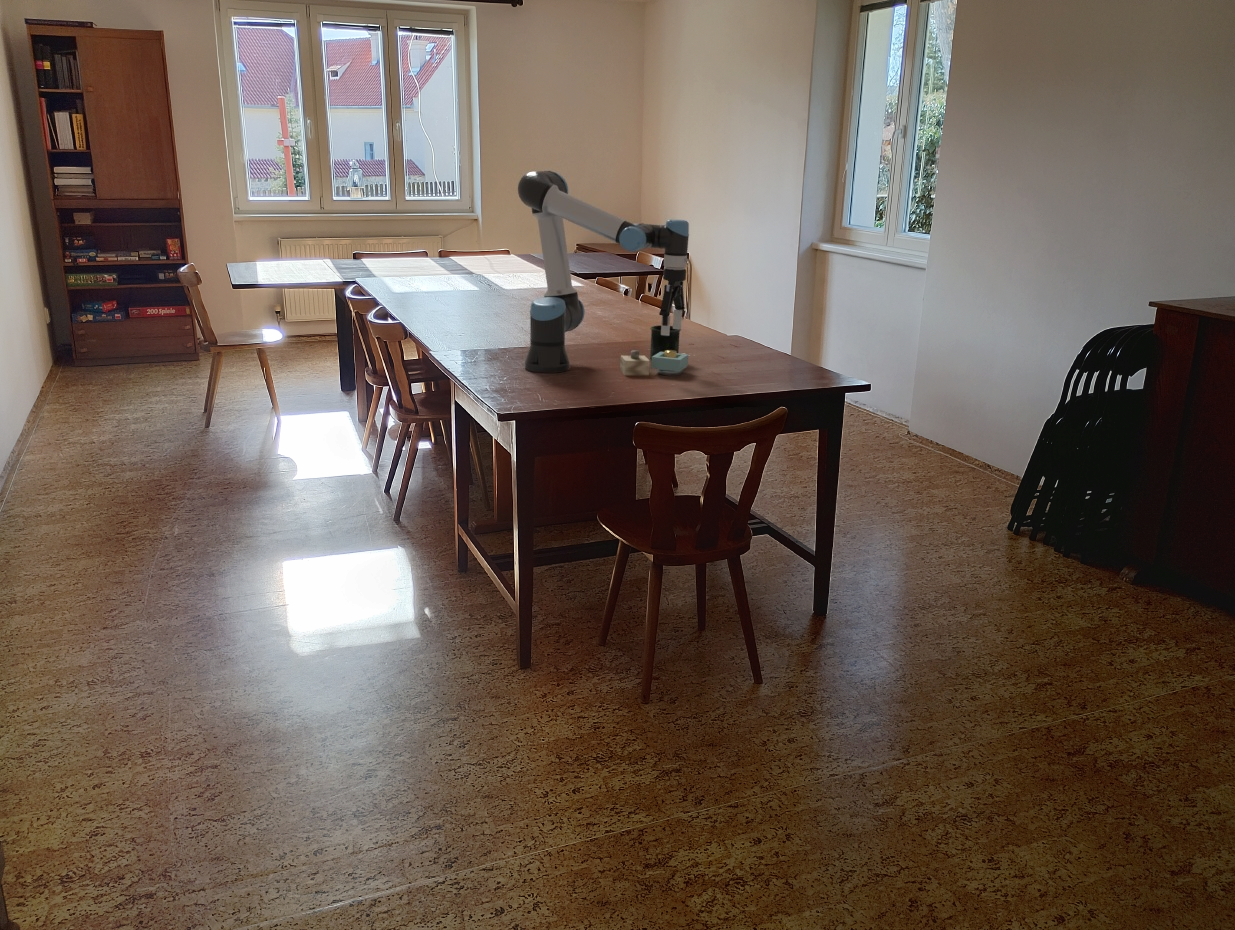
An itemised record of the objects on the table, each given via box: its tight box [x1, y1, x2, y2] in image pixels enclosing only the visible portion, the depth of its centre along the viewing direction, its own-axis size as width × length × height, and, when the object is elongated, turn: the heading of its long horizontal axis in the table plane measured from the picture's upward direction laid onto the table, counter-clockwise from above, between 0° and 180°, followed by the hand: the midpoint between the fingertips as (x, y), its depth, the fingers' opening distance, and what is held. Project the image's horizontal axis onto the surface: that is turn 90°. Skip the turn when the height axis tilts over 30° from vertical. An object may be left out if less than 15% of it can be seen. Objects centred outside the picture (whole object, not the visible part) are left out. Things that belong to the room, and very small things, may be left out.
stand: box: [619, 349, 651, 376], centre depth 320 cm, size 8×8×7 cm
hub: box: [657, 350, 682, 377], centre depth 321 cm, size 8×8×8 cm
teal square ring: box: [650, 352, 689, 372], centre depth 321 cm, size 10×10×4 cm
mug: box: [649, 325, 682, 362], centre depth 340 cm, size 11×15×12 cm
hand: (671, 332), depth 318 cm, fingers open, 13 cm apart
